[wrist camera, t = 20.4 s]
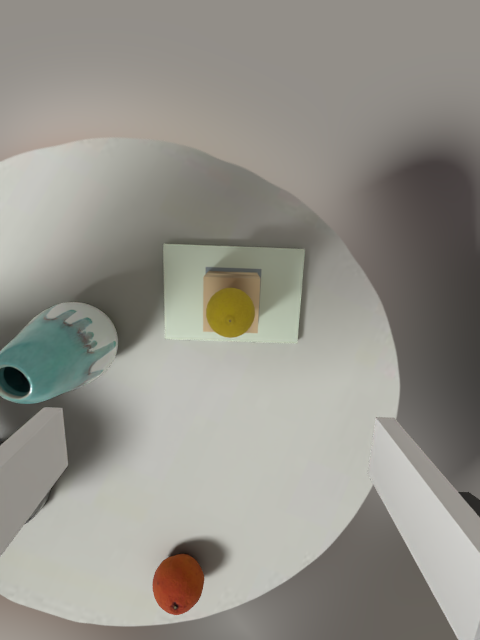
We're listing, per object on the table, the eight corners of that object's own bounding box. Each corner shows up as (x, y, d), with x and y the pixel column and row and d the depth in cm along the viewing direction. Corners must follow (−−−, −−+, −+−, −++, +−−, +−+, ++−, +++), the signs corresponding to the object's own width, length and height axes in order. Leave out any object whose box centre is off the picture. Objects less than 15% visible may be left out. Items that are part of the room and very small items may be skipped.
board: (166, 336, 51) (164, 339, 50) (164, 243, 48) (162, 243, 47) (295, 341, 51) (297, 343, 50) (303, 248, 48) (305, 249, 47)
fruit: (182, 535, 60) (174, 579, 53) (214, 564, 62) (211, 612, 54) (147, 560, 62) (134, 607, 54) (179, 588, 63) (171, 637, 56)
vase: (71, 378, 53) (-11, 448, 35) (36, 311, 50) (-71, 351, 33) (138, 355, 52) (88, 415, 35) (106, 286, 49) (34, 312, 32)
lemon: (244, 332, 42) (245, 353, 35) (203, 318, 42) (195, 336, 34) (259, 292, 41) (264, 305, 33) (217, 276, 41) (212, 286, 33)
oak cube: (207, 318, 49) (203, 331, 42) (208, 271, 47) (203, 276, 41) (255, 320, 49) (257, 333, 42) (257, 272, 48) (260, 278, 41)
